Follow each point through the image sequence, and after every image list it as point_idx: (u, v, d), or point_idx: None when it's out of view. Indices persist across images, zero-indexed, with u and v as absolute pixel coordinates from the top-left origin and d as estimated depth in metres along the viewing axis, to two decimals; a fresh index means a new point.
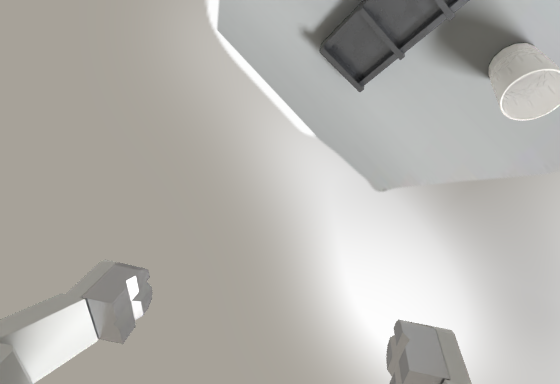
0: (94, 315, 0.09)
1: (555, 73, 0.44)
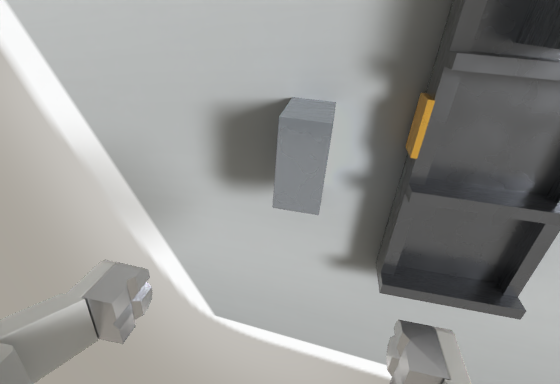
0: (94, 315, 0.09)
1: None
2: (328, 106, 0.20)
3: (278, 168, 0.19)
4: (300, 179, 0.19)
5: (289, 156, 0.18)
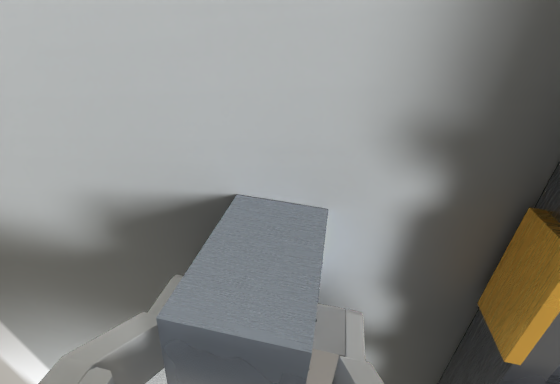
0: None
1: None
2: (309, 232, 0.09)
3: None
4: None
5: None
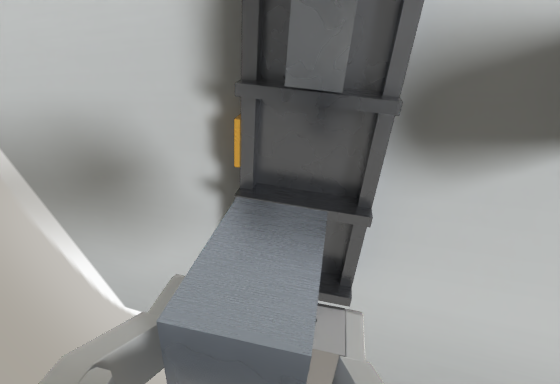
0: None
1: None
2: (309, 235, 0.09)
3: None
4: None
5: None
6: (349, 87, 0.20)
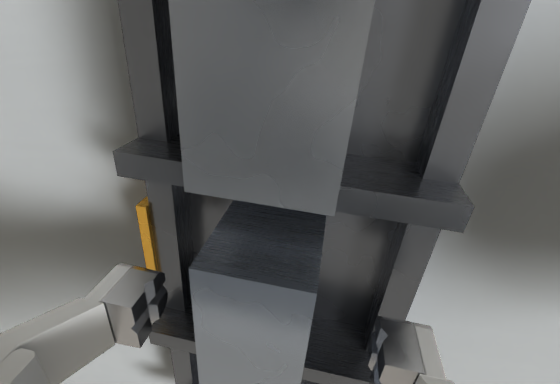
0: (112, 319, 0.09)
1: None
2: None
3: (202, 354, 0.09)
4: (249, 377, 0.09)
5: (223, 339, 0.08)
6: (352, 153, 0.10)
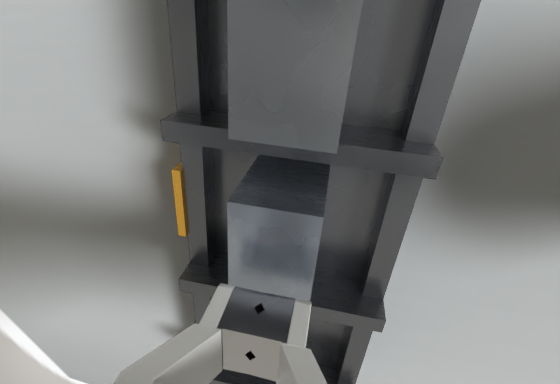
0: (226, 345, 0.09)
1: None
2: (319, 167, 0.12)
3: (233, 277, 0.11)
4: None
5: (250, 262, 0.11)
6: (350, 123, 0.13)
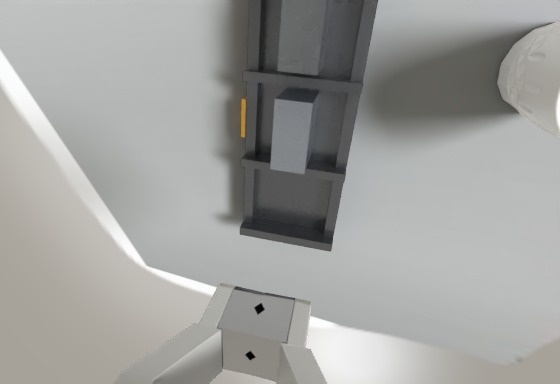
0: (226, 346, 0.09)
1: None
2: (312, 94, 0.27)
3: (274, 138, 0.26)
4: (290, 146, 0.26)
5: (282, 128, 0.25)
6: (327, 75, 0.28)
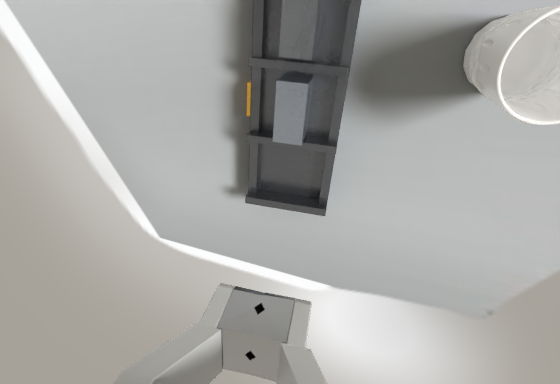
0: (226, 346, 0.09)
1: None
2: (308, 77, 0.32)
3: (276, 114, 0.31)
4: (289, 121, 0.31)
5: (283, 106, 0.30)
6: (320, 61, 0.32)
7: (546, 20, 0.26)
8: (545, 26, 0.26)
